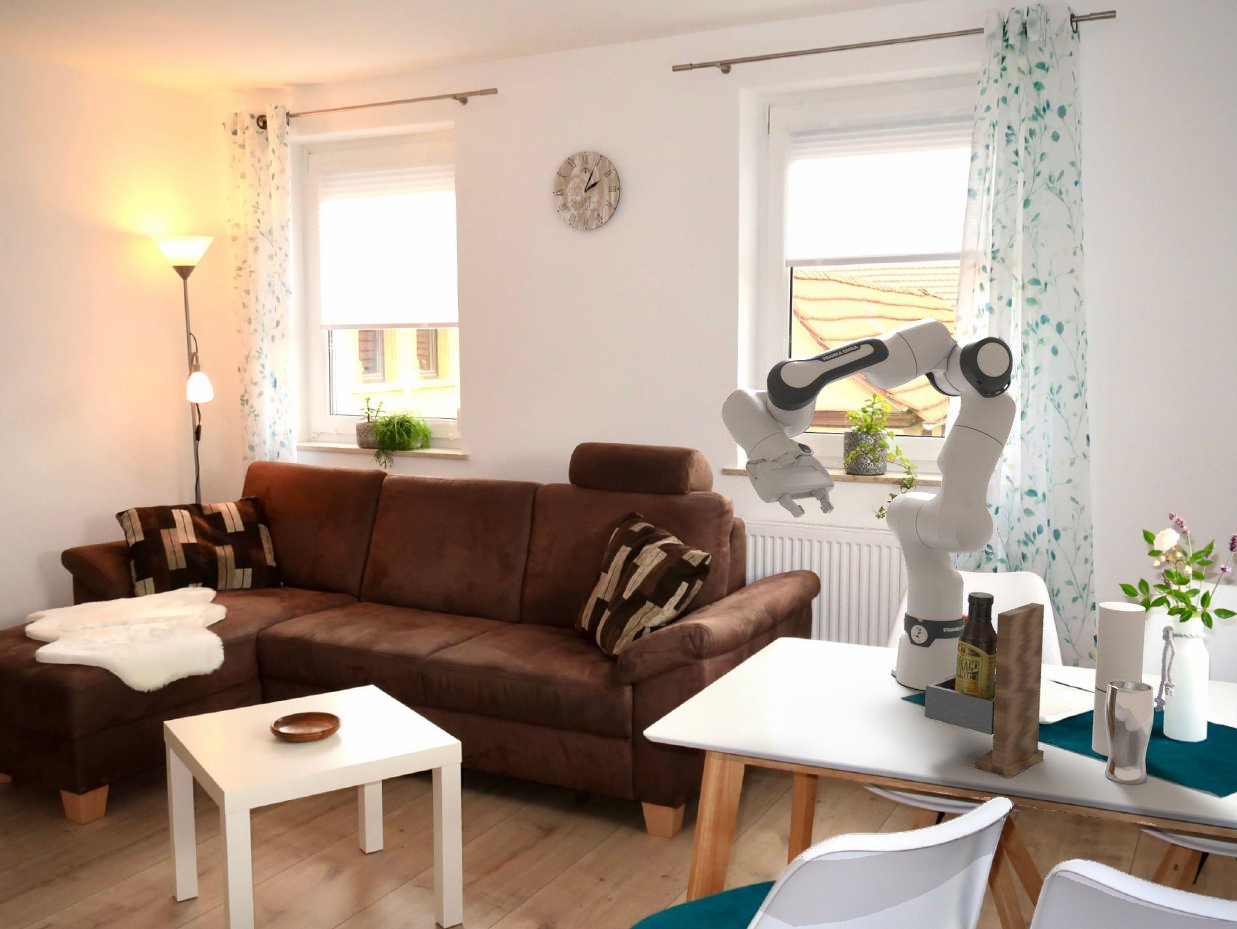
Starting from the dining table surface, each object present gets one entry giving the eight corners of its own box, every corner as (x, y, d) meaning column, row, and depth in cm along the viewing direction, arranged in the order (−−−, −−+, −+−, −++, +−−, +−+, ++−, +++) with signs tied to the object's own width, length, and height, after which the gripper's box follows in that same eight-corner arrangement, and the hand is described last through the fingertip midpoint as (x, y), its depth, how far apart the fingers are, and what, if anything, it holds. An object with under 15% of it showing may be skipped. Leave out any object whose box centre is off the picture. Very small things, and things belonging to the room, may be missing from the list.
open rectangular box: (957, 703, 189) (958, 672, 188) (1026, 720, 180) (1027, 688, 179) (924, 717, 181) (925, 685, 181) (994, 735, 172) (995, 702, 172)
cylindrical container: (1135, 761, 178) (1143, 613, 176) (1088, 753, 182) (1095, 607, 179) (1140, 748, 184) (1148, 605, 182) (1095, 740, 188) (1102, 600, 185)
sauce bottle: (946, 706, 182) (950, 591, 180) (975, 702, 185) (979, 588, 183) (973, 718, 176) (977, 598, 174) (1002, 713, 179) (1007, 595, 177)
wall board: (1008, 750, 183) (1015, 599, 180) (1043, 759, 178) (1050, 605, 176) (974, 767, 175) (980, 610, 172) (1009, 778, 170) (1016, 617, 168)
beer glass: (1155, 787, 167) (1160, 693, 165) (1107, 783, 168) (1112, 690, 167) (1143, 771, 174) (1147, 680, 172) (1097, 767, 175) (1101, 677, 174)
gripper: (751, 450, 201) (791, 507, 195) (815, 445, 215) (855, 499, 209) (732, 472, 205) (771, 528, 199) (797, 466, 219) (835, 519, 213)
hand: (815, 513), depth 204 cm, fingers open, 8 cm apart
